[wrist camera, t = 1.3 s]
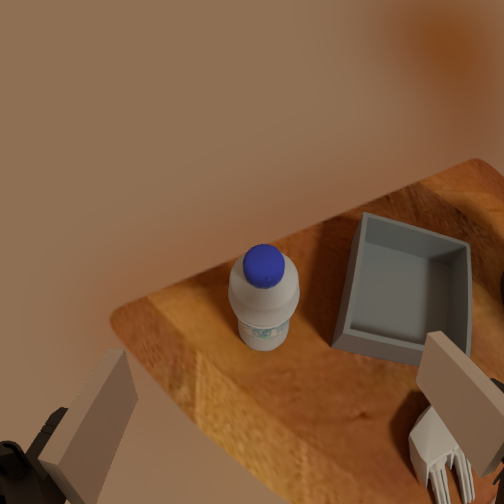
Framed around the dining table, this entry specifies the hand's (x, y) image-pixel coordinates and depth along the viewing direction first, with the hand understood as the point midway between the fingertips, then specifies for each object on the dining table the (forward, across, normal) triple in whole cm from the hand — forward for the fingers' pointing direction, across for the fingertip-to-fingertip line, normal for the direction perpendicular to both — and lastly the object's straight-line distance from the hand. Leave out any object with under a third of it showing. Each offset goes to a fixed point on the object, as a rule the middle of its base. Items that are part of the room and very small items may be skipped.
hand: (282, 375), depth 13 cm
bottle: (+27, 0, -13) cm, 30 cm away
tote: (+29, +20, -11) cm, 37 cm away
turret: (+12, +24, -29) cm, 39 cm away
